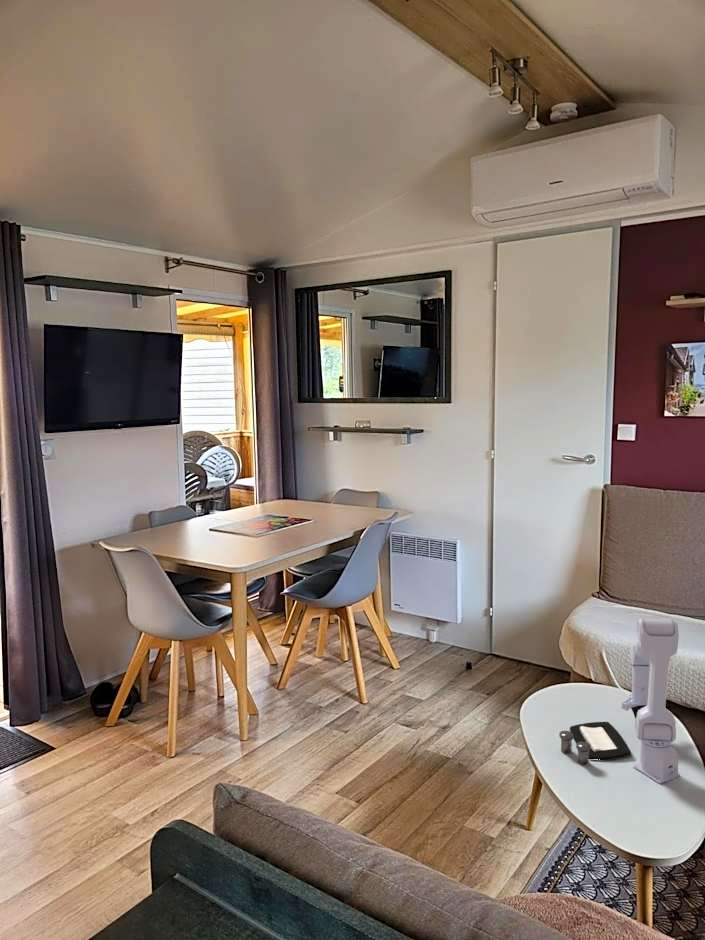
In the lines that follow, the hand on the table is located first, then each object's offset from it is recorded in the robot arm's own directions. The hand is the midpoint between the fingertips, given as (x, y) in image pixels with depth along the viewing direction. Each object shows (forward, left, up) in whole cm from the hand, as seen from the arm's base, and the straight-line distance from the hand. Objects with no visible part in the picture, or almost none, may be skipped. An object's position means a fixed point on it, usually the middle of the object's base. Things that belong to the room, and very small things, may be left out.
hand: (640, 726), depth 219 cm
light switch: (+2, +15, -3) cm, 15 cm away
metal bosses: (0, +27, -3) cm, 27 cm away
